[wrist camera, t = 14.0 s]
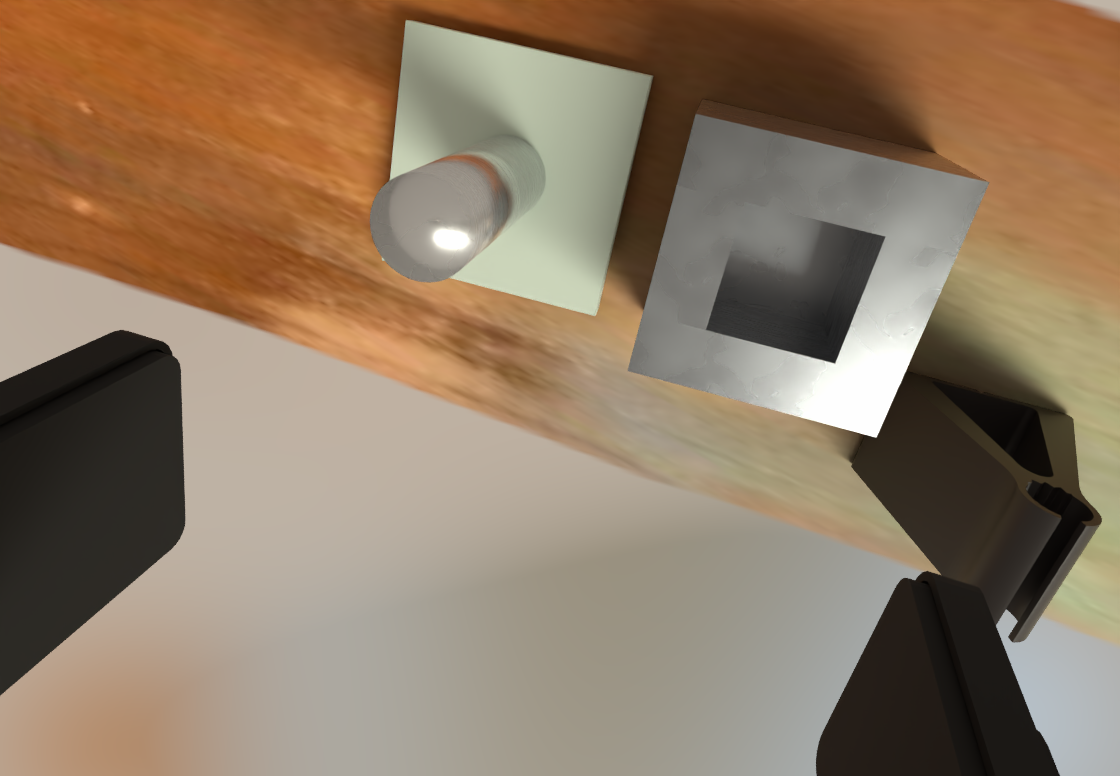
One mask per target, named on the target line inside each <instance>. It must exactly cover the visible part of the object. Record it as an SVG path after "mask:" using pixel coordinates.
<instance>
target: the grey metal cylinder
mask: <svg viewBox="0 0 1120 776" xmlns="http://www.w3.org/2000/svg"><path fill="white" fill-rule="evenodd" d="M545 183H546V173H545V167H544V164H543V161H542V159H541V157H540V155H539V154H538V152H537V151H536V149H535V148H534V147H533V146H532V145H531V144H529V143H528V142H527V141H525V140H523V139H521V138H519V137H516V136H513V135H497V136H494V137H491V138H489V139H486V140H484V141H481V142H479V143H477V144H474V145H472V146H469V147H467V148H464V149H462V150H460V151H457V152H455V153H452V154H450V155H448V156H445V157H443V158H440V159H438V160H435V161H433V162H431V163H428V164H426V165H423V166H421V167H419V168H416V169H414V170H411V171H409V172H406V173H404V174H402V175H399V176H397V177H395V178H393V179H391V180H390V181H388V182H387V183H386V184H385V185H384V186H383V187H382V188H381V189H380V190H379V192H378V194H377V195H376V197H375V199H374V201H373V205H372V208H371V214H370V228H371V234H372V238H373V241H374V243H375V246H376V248H377V250H378V252H379V253H380V255H381V256H382V258H383V259H384V260H385V261H386V263H387V264H388V265H389V266H390V267H391V268H393V269H394V270H395V271H396V272H398V273H400V274H401V275H403V276H405V277H407V278H409V279H412V280H415V281H420V282H437V281H442V280H445V279H447V278H449V277H451V276H453V275H455V274H456V273H457V272H459V271H460V270H461V269H462V268H463V267H464V266H466V265H467V264H468V263H469V262H470V261H471V260H473V259H474V258H475V257H476V256H477V255H478V254H480V253H481V252H482V251H483V250H484V249H485V248H487V247H488V246H489V245H490V244H491V243H492V242H494V241H495V240H496V239H497V238H498V237H499V236H501V235H502V234H503V233H504V232H505V231H506V230H508V229H509V228H510V227H511V226H512V225H513V224H514V223H516V222H517V221H518V220H519V219H520V218H521V217H523V216H524V215H525V214H526V213H527V212H528V211H530V210H531V209H532V208H533V207H534V206H535V205H536V204H537V203H538V201H539V200H540V198H541V197H542V194H543V192H544V189H545Z"/></svg>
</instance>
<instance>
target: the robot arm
mask: <svg viewBox="0 0 1120 776" xmlns="http://www.w3.org/2000/svg"><path fill="white" fill-rule="evenodd" d="M183 461H184V460H183V431H182V398H181V369H180V364H179V362H178V360H177V359H176V358H175V357H174V356H172V351H171V350H170V348H169V346H168V345H167V344H166V343H164V342H162V341H159V340H156V339H152V338H148V337H146V336H142V335H139V334H136V333H132V332H129V331H124V330H119V331H115V332H112V333H110V334H107V335H105V336H103V337H101V338H98V339H96V340H94V341H92V342H89V343H87V344H85V345H83V346H80V347H78V348H76V349H74V350H71V351H69V352H67V353H65V354H62V355H60V356H58V357H56V358H53V359H51V360H49V361H47V362H45V363H42V364H40V365H38V366H36V367H33V368H31V369H29V370H27V371H25V372H22V373H20V374H18V375H16V376H13V377H11V378H9V379H7V380H4V381H2V382H0V695H1V694H2V693H4V692H5V691H6V690H7V689H8V688H9V687H10V686H12V685H13V684H14V683H15V682H17V681H18V680H19V679H20V678H21V677H22V676H24V675H25V674H26V673H27V672H28V671H29V670H31V669H32V668H33V667H34V666H35V665H36V664H38V663H39V662H40V661H41V660H42V659H43V658H45V657H46V656H47V655H48V654H49V653H50V652H52V651H53V650H54V649H55V648H56V647H57V646H59V645H60V644H61V643H62V642H63V641H64V640H66V639H67V638H68V637H69V636H70V635H71V634H72V633H74V632H75V631H76V630H77V629H78V628H80V627H81V626H82V625H83V624H84V623H86V622H87V621H88V620H89V619H90V618H91V617H93V616H94V615H95V614H96V613H97V612H98V611H100V610H101V609H102V608H103V607H104V606H105V605H107V604H108V603H109V602H110V601H111V600H112V599H113V598H115V597H116V596H117V595H118V594H119V593H121V592H122V591H123V590H124V589H125V588H126V587H128V586H129V585H130V584H131V583H132V582H133V581H135V580H136V579H137V578H138V577H139V576H140V575H142V574H143V573H144V572H145V571H146V570H147V569H148V568H150V567H151V566H152V565H153V564H154V563H156V562H157V561H158V560H159V559H160V558H162V557H163V555H165V554H166V553H167V552H169V551H170V550H171V549H172V548H173V547H174V546H175V545H176V543H177V542H178V540H179V539H180V537H181V535H182V533H183V530H184V526H185V494H184V462H183ZM816 773H817V776H1060V775H1059V773H1058V770H1057V768H1056V765H1055V763H1054V760H1053V758H1052V755H1051V753H1050V750H1049V747H1048V745H1047V744H1046V742H1045V740H1044V738H1043V736H1042V735H1041V733H1040V732H1039V731H1038V730H1036V728H1035V725H1034V722H1033V720H1032V717H1031V715H1030V712H1029V709H1028V707H1027V704H1026V702H1025V699H1024V697H1023V694H1022V692H1021V689H1020V687H1019V684H1018V681H1017V679H1016V676H1015V674H1014V671H1013V669H1012V666H1011V663H1010V661H1009V659H1008V656H1007V653H1006V651H1005V648H1004V646H1003V643H1002V641H1001V638H1000V635H999V633H998V630H997V628H996V625H995V623H994V620H993V618H992V615H991V612H990V610H989V607H988V605H987V602H986V600H985V597H984V595H983V593H982V591H981V589H980V588H979V587H977V586H975V585H972V584H968V583H965V582H962V581H958V580H955V579H952V578H948V577H945V576H942V575H938V574H935V573H932V572H928V571H926V572H922V573H921V574H920V575H919V576H918V577H917V579H916V580H912V579H908V578H903V579H902V580H901V581H900V582H899V583H898V585H897V586H896V588H895V590H894V592H893V594H892V596H891V598H890V600H889V602H888V604H887V606H886V608H885V610H884V612H883V614H882V616H881V618H880V620H879V621H878V624H877V626H876V627H875V630H874V631H873V634H872V635H871V637H870V639H869V641H868V643H867V645H866V648H865V649H864V651H863V654H862V655H861V657H860V659H859V661H858V663H857V665H856V667H855V669H854V671H853V673H852V675H851V677H850V679H849V681H848V683H847V685H846V687H845V689H844V691H843V693H842V695H841V697H840V699H839V701H838V703H837V705H836V707H835V709H834V711H833V713H832V715H831V717H830V719H829V721H828V723H827V725H826V727H825V729H824V731H823V733H822V735H821V738H820V741H819V745H818V750H817V757H816Z"/></svg>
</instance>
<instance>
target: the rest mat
mask: <svg viewBox="0 0 1120 776" xmlns="http://www.w3.org/2000/svg"><path fill="white" fill-rule="evenodd" d="M652 80H653V76H652V75H648V74H643V73H639V72H635V71H630V70H626V69H622V68H617V67H613V66H609V65H604V64H600V63H596V62H591V61H587V60H583V59H578V58H574V57H570V56H565V55H561V54H557V53H552V52H548V51H544V50H539V49H535V48H531V47H526V46H522V45H518V44H513V43H509V42H505V41H500V40H496V39H492V38H487V37H483V36H479V35H474V34H470V33H466V32H461V31H457V30H453V29H448V28H444V27H440V26H435V25H431V24H427V23H422V22H418V21H414V20H406V23H405V33H404V43H403V53H402V63H401V73H400V83H399V93H398V103H397V113H396V123H395V133H394V143H393V153H392V163H391V173H390V180H391V179H393V178H395V177H397V176H399V175H402V174H404V173H406V172H409V171H411V170H414V169H416V168H419V167H421V166H423V165H426V164H428V163H431V162H433V161H435V160H438V159H440V158H443V157H445V156H448V155H450V154H452V153H455V152H457V151H460V150H462V149H464V148H467V147H469V146H472V145H474V144H477V143H479V142H481V141H484V140H486V139H489V138H491V137H494V136H497V135H513V136H516V137H519V138H521V139H523V140H525V141H527V142H528V143H529V144H531V145H532V146H533V147H534V148H535V149H536V151H537V152H538V154H539V155H540V157H541V159H542V161H543V164H544V167H545V173H546V183H545V189H544V192H543V194H542V197H541V198H540V200H539V201H538V203H537V204H536V205H535V206H534V207H533V208H532V209H531V210H530V211H528V212H527V213H526V214H525V215H524V216H523V217H521V218H520V219H519V220H518V221H517V222H516V223H514V224H513V225H512V226H511V227H510V228H509V229H508V230H506V231H505V232H504V233H503V234H502V235H501V236H499V237H498V238H497V239H496V240H495V241H494V242H492V243H491V244H490V245H489V246H488V247H487V248H485V249H484V250H483V251H482V252H481V253H480V254H478V255H477V256H476V257H475V258H474V259H473V260H471V261H470V262H469V263H468V264H467V265H466V266H464V267H463V268H462V269H461V270H460V271H459V272H457V273H456V274H455V275H453V276H451V277H449V278H452V279H456V280H460V281H464V282H467V283H471V284H475V285H479V286H483V287H486V288H490V289H494V290H498V291H502V292H506V293H509V294H513V295H517V296H521V297H525V298H528V299H532V300H536V301H540V302H544V303H547V304H551V305H555V306H559V307H563V308H567V309H570V310H574V311H578V312H582V313H586V314H589V315H593V316H595V315H596V313H597V311H598V308H599V304H600V300H601V295H602V291H603V287H604V283H605V279H606V274H607V270H608V266H609V262H610V257H611V253H612V249H613V245H614V241H615V236H616V232H617V228H618V224H619V219H620V215H621V211H622V207H623V203H624V198H625V194H626V190H627V186H628V181H629V177H630V173H631V169H632V165H633V160H634V156H635V152H636V148H637V143H638V139H639V135H640V131H641V127H642V122H643V118H644V114H645V110H646V105H647V101H648V97H649V93H650V88H651V84H652ZM382 260H383V261H385V260H384V259H383V258H382Z"/></svg>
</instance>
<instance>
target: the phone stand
mask: <svg viewBox="0 0 1120 776" xmlns="http://www.w3.org/2000/svg"><path fill="white" fill-rule="evenodd" d="M851 467H852V468H853V469H854V471H855V472H856V473H857V474H858V475H859V477H860V478H861V479H862V480H863V481H864V483H865V484H866V485H867V486H868V487H869V489H870V490H871V491H872V492H873V493H874V495H875V496H876V497H877V498H878V499H879V500H880V502H881V503H882V504H883V505H884V506H885V508H886V509H887V510H888V511H889V512H890V514H891V515H892V516H893V517H894V518H895V520H896V521H897V522H898V523H899V524H900V526H901V527H902V528H903V529H904V530H905V532H906V533H907V534H908V535H909V536H910V538H911V539H912V540H913V541H914V542H915V544H916V545H917V546H918V547H919V548H920V550H921V551H922V552H923V553H924V554H925V556H926V557H927V558H928V559H929V560H930V562H931V563H932V564H933V565H934V566H935V568H936V569H937V570H938V571H939V572H940V574H941V575H942V576H945V577H948V578H952V579H955V580H958V581H962V582H965V583H968V584H972V585H975V586H977V587H979V588H980V589H981V591H982V593H983V595H984V597H985V600H986V602H987V605H988V607H989V610H990V612H991V615H992V618H993V620H994V623H995V625H996V624H997V623H998V621H999V619H1000V618H1001V616H1002V615H1003V613H1004V611H1005V610H1006V609H1007V610H1008V611H1009V612H1010V613H1011V614H1012V615H1013V616H1014V617H1015V618H1016V619H1017V621H1018V622H1017V624H1016V625H1015V627H1014V628H1013V630H1012V632H1011V633H1010V635H1009V636H1008V637H1009V639H1010V640H1011V641H1012V642H1021V641H1024V640H1025V639H1026V638H1027V637H1028V635H1029V634H1030V632H1031V630H1032V629H1033V627H1034V626H1035V624H1036V623H1037V621H1038V620H1039V618H1040V617H1041V615H1042V613H1043V612H1044V610H1045V609H1046V607H1047V606H1048V604H1049V603H1050V601H1051V600H1052V598H1053V596H1054V595H1055V593H1056V592H1057V590H1058V589H1059V587H1060V586H1061V584H1062V583H1063V581H1064V579H1065V578H1066V576H1067V575H1068V573H1069V572H1070V570H1071V569H1072V567H1073V565H1074V564H1075V562H1076V561H1077V559H1078V558H1079V556H1080V555H1081V553H1082V552H1083V550H1084V548H1085V547H1086V545H1087V544H1088V542H1089V541H1090V539H1091V538H1092V536H1093V535H1094V533H1095V531H1096V530H1097V528H1098V527H1099V525H1100V524H1101V522H1102V518H1101V516H1100V514H1099V513H1098V512H1097V510H1096V509H1095V508H1094V507H1093V506H1092V505H1091V504H1090V503H1089V502H1088V501H1087V500H1086V499H1085V497H1084V496H1083V495H1082V493H1081V491H1080V488H1079V479H1078V468H1077V456H1076V445H1075V434H1074V423H1073V418H1072V417H1070V416H1068V415H1066V414H1064V413H1060V412H1056V411H1052V410H1049V409H1045V408H1041V407H1038V406H1034V405H1030V404H1027V403H1023V402H1019V401H1015V400H1012V399H1008V398H1004V397H1001V396H997V395H993V394H989V393H986V392H984V393H981V392H979V391H977V390H975V389H971V388H967V387H963V386H960V385H956V384H952V383H949V382H945V381H941V380H937V379H934V378H930V377H926V376H923V375H919V374H915V373H912V372H908V371H906V372H905V374H904V376H903V378H902V381H901V383H900V385H899V387H898V390H897V392H896V394H895V396H894V399H893V401H892V403H891V405H890V408H889V410H888V412H887V414H886V417H885V419H884V421H883V423H882V426H881V428H880V430H879V432H878V435H877V437H873V436H869V435H865V437H864V439H863V441H862V443H861V445H860V448H859V450H858V452H857V454H856V457H855V459H854V461H853V463H852V466H851Z"/></svg>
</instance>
